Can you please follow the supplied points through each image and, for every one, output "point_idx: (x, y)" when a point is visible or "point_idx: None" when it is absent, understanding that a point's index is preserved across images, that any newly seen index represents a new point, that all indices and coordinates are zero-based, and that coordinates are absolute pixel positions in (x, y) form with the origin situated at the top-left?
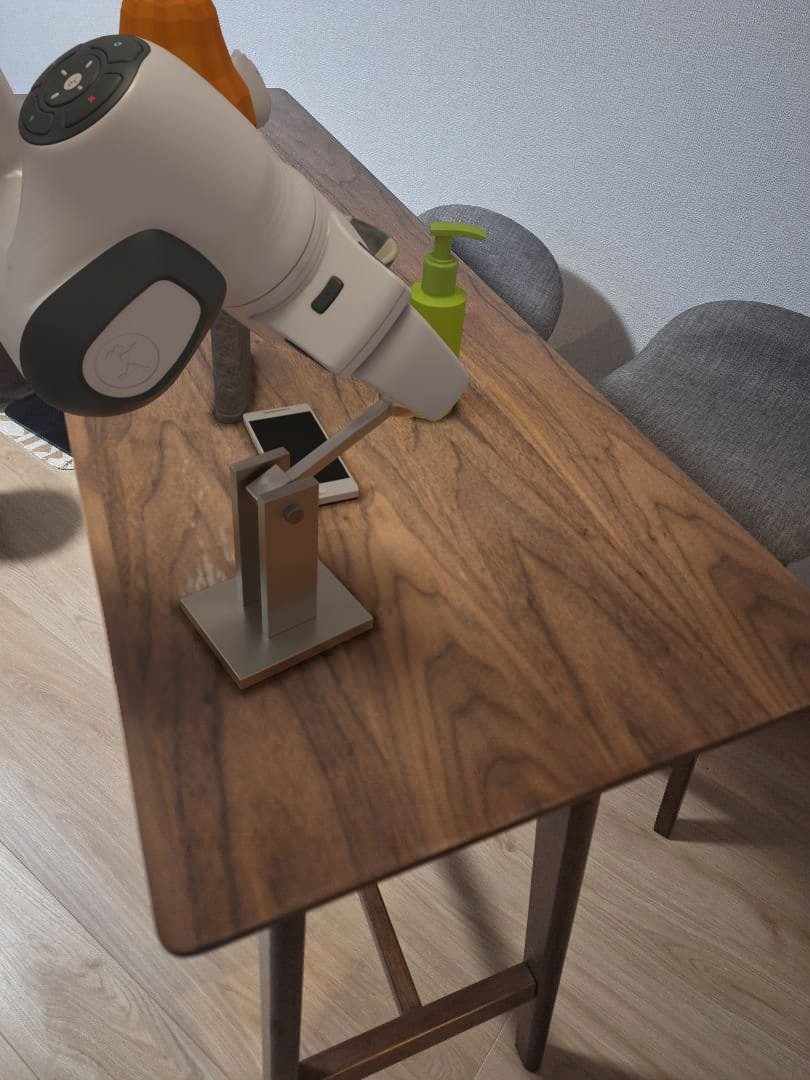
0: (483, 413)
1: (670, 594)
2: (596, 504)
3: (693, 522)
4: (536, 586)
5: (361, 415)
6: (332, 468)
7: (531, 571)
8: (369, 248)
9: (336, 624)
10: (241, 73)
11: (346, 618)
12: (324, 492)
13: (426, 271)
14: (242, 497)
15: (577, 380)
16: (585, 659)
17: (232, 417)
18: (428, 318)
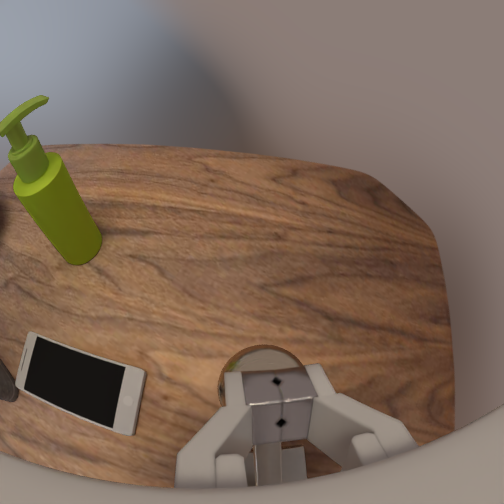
0: (118, 213)
1: (352, 229)
2: (255, 209)
3: (299, 174)
4: (315, 303)
5: (260, 465)
6: (106, 372)
7: (299, 296)
8: None
9: (296, 475)
10: None
11: (293, 465)
12: (132, 400)
13: (18, 166)
14: None
15: (136, 144)
16: (386, 314)
17: (14, 394)
18: (48, 198)
